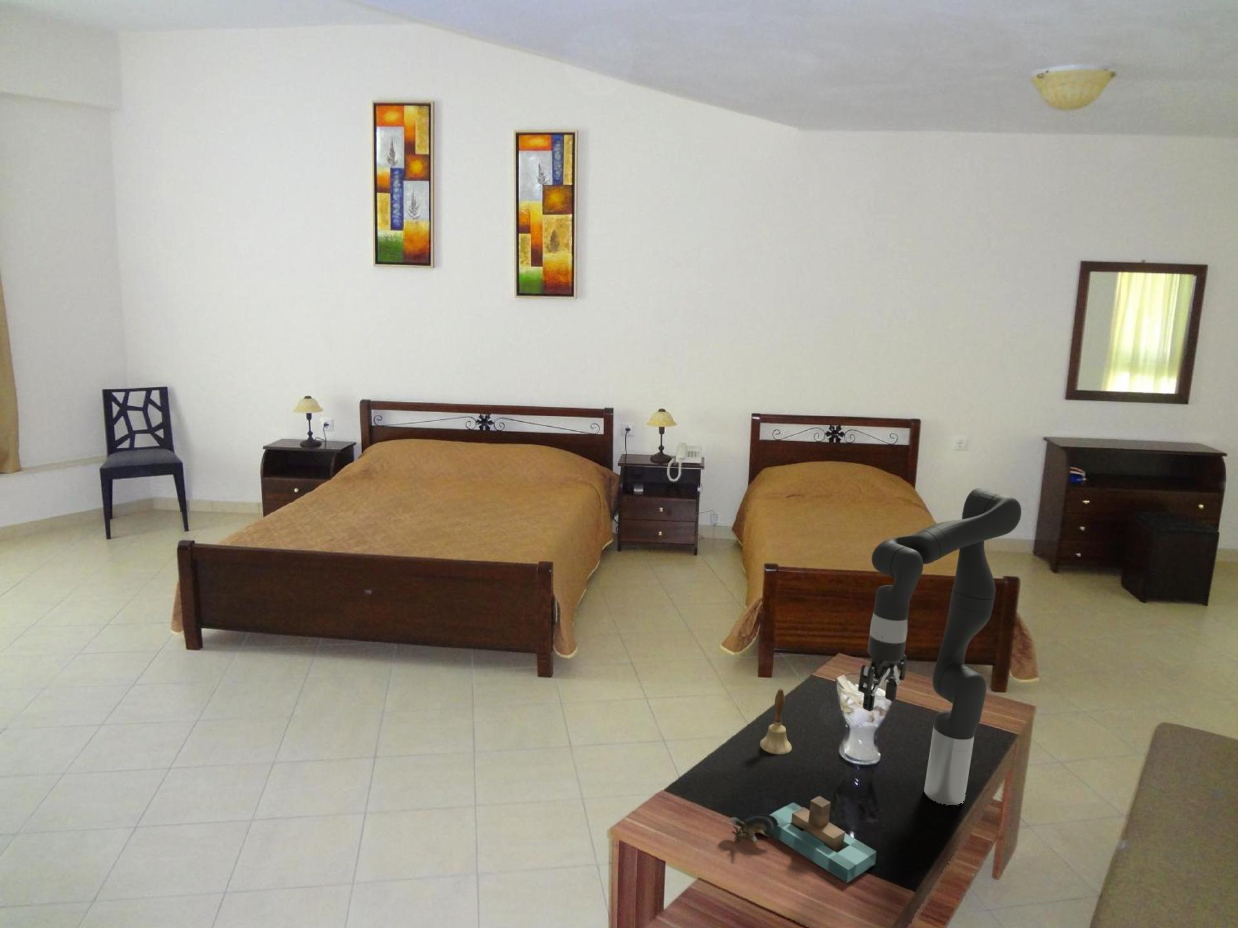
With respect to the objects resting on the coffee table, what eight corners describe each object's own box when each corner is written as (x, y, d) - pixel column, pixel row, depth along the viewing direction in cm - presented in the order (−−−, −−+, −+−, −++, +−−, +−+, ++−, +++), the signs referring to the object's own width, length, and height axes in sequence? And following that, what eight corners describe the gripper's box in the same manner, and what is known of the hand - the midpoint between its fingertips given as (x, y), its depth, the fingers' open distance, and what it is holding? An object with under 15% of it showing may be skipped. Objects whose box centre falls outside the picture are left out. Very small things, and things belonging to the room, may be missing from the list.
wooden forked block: (789, 835, 194) (794, 792, 192) (801, 829, 197) (806, 786, 194) (830, 861, 186) (836, 817, 184) (842, 854, 188) (847, 810, 186)
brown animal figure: (752, 853, 185) (784, 834, 190) (738, 819, 187) (771, 801, 191) (734, 852, 192) (765, 834, 196) (721, 819, 193) (752, 802, 198)
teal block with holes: (763, 829, 196) (764, 817, 195) (791, 813, 202) (793, 801, 202) (846, 882, 179) (848, 869, 179) (874, 864, 186) (876, 851, 185)
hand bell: (754, 747, 231) (760, 690, 228) (767, 735, 238) (773, 680, 234) (784, 758, 226) (790, 700, 223) (796, 745, 233) (802, 689, 230)
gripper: (884, 648, 182) (875, 720, 185) (921, 633, 191) (912, 702, 194) (853, 635, 187) (845, 706, 191) (891, 622, 196) (882, 689, 200)
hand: (879, 704), depth 192 cm, fingers open, 8 cm apart
